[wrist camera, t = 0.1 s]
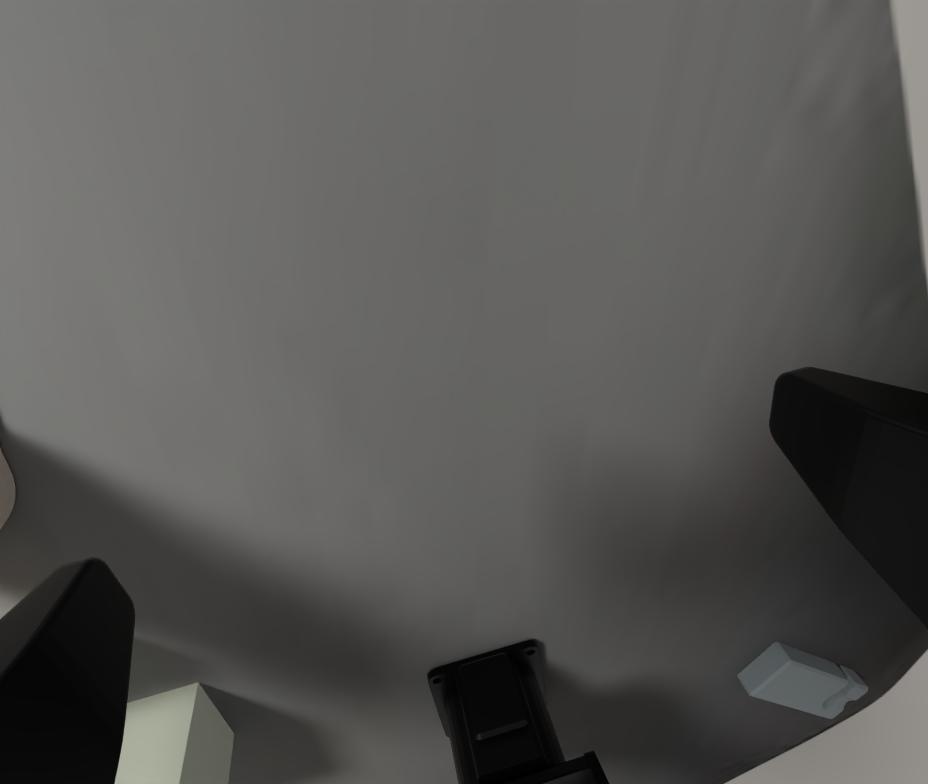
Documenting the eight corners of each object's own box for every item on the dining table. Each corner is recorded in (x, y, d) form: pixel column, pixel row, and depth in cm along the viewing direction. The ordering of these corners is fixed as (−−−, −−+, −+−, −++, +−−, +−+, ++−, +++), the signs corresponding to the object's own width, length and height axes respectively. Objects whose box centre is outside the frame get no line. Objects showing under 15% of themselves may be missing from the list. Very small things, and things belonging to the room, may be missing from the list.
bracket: (772, 636, 40) (792, 662, 38) (851, 665, 44) (871, 690, 43) (731, 671, 41) (749, 698, 39) (812, 696, 46) (831, 721, 44)
